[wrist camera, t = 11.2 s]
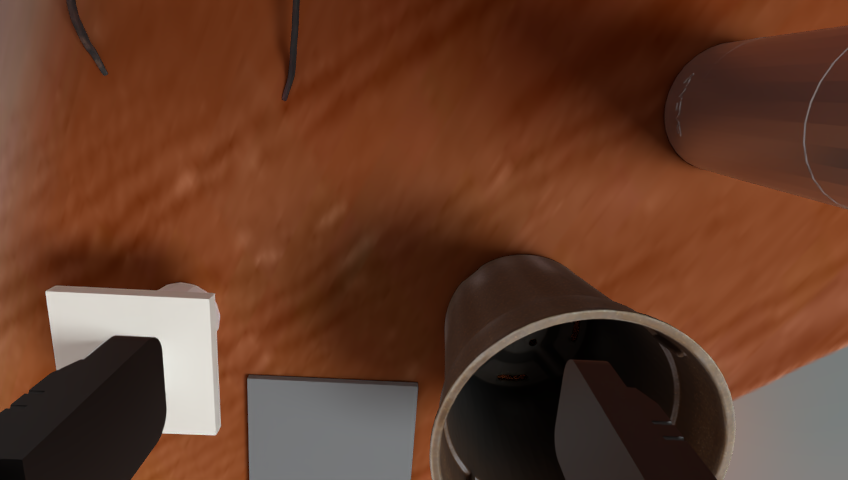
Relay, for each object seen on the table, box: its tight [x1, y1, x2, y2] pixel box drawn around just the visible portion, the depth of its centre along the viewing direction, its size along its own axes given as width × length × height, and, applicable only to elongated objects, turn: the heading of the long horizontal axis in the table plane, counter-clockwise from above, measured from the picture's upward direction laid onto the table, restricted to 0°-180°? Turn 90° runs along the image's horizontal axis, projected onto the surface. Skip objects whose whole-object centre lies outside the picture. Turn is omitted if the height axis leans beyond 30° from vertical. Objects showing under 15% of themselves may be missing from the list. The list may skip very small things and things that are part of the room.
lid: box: [45, 285, 221, 435], centre depth 32 cm, size 10×10×7 cm
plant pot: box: [430, 255, 736, 480], centre depth 35 cm, size 16×16×16 cm
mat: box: [247, 375, 418, 480], centre depth 45 cm, size 14×14×1 cm
